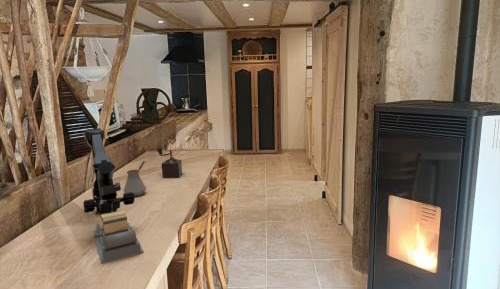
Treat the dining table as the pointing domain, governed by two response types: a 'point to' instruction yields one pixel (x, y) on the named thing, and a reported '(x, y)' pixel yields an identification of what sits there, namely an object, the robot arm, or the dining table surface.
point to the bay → (116, 244)
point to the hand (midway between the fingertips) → (113, 221)
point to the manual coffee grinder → (170, 166)
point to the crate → (114, 223)
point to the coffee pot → (134, 182)
